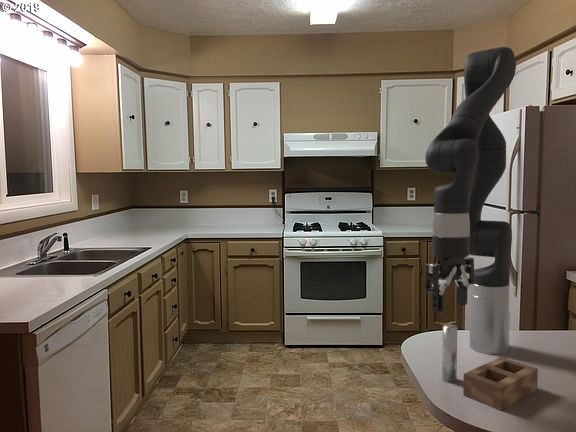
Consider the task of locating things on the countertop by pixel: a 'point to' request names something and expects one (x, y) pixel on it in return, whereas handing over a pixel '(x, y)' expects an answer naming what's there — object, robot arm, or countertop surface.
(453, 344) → the peg
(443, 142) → the robot arm
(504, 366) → the hole block
